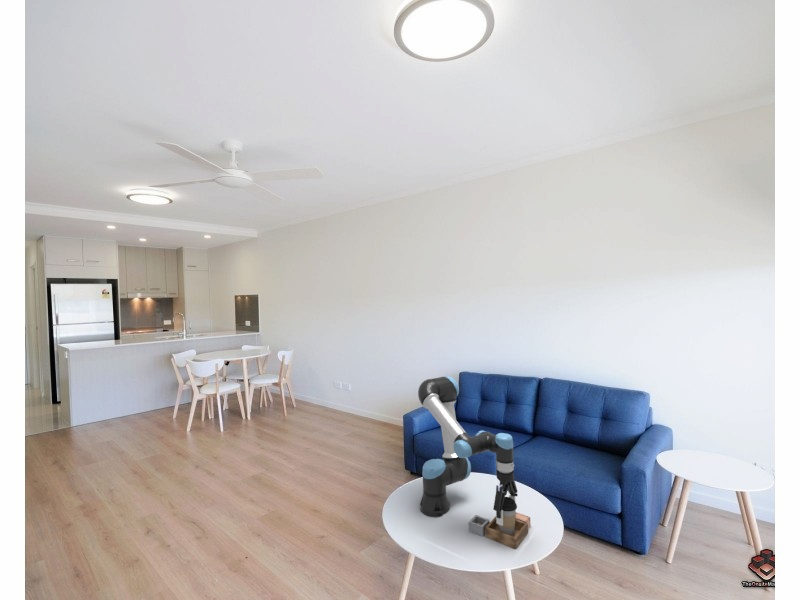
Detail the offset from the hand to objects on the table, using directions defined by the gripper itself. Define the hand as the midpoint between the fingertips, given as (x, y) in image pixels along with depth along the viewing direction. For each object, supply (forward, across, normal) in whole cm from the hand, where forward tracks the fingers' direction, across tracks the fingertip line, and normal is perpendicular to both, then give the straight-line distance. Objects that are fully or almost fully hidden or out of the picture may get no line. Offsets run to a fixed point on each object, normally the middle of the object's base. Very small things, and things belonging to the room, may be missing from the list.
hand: (506, 517), depth 172 cm
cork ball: (+8, -4, +12) cm, 15 cm away
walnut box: (+9, 0, 0) cm, 9 cm away
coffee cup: (+8, 0, 0) cm, 8 cm away
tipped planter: (+9, +10, -2) cm, 13 cm away
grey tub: (+9, -4, +12) cm, 15 cm away
